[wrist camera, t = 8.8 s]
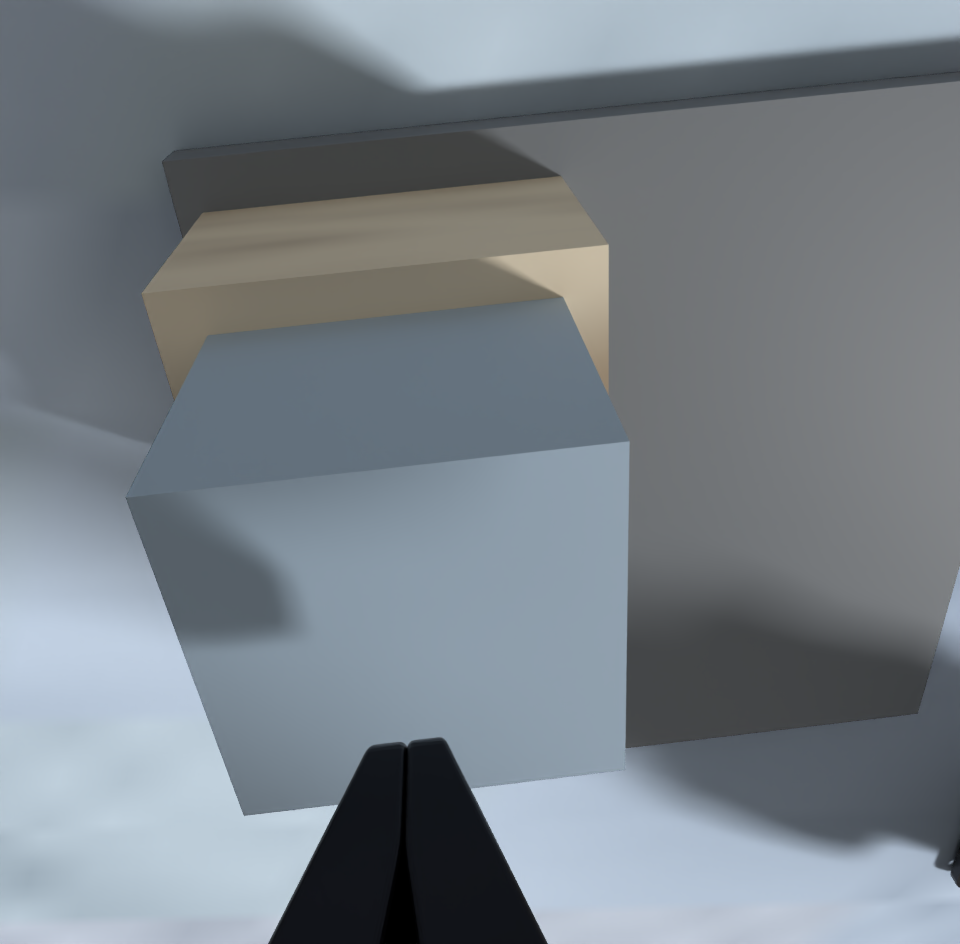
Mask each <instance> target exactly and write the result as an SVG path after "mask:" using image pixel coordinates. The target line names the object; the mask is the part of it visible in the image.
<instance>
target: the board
mask: <svg viewBox="0 0 960 944" xmlns="http://www.w3.org/2000/svg"><path fill="white" fill-rule="evenodd" d="M162 163H163V167H164V171H165V174H166V178H167V182H168V186H169V189H170V193H171V197H172V200H173V204H174V208H175V211H176V215H177V219H178V222H179V226H180V230H181V233H182V237H183V238H184V237H185V235H186V234H187V233H188V231H189V230H190V229H191V227H192V226H193V225H194V223H195V222H196V221H197V219H198V218H199V217H200V215H201V214H202V213H205V212H215V211H225V210H235V209H244V208H254V207H264V206H274V205H283V204H293V203H303V202H313V201H323V200H332V199H342V198H352V197H362V196H371V195H381V194H391V193H401V192H410V191H420V190H430V189H440V188H449V187H459V186H469V185H479V184H488V183H498V182H508V181H518V180H527V179H537V178H547V177H557V176H561V177H562V178H563V180H564V181H565V183H566V184H567V185H568V187H569V188H570V190H571V191H572V193H573V194H574V195H575V197H576V198H577V200H578V201H579V203H580V204H581V206H582V207H583V208H584V210H585V211H586V213H587V214H588V216H589V217H590V219H591V220H592V221H593V223H594V224H595V226H596V227H597V229H598V230H599V231H600V233H601V234H602V236H603V237H604V239H605V240H606V242H607V243H608V244H609V398H610V400H611V402H612V404H613V406H614V408H615V411H616V413H617V415H618V417H619V419H620V422H621V424H622V426H623V428H624V430H625V432H626V435H627V437H628V439H629V441H630V447H629V520H628V594H627V667H626V740H625V748H631V747H639V746H648V745H656V744H665V743H673V742H682V741H690V740H699V739H707V738H715V737H724V736H732V735H741V734H749V733H758V732H766V731H775V730H783V729H792V728H800V727H808V726H817V725H825V724H834V723H842V722H851V721H859V720H868V719H876V718H885V717H893V716H901V715H910V714H918V711H919V707H920V704H921V700H922V697H923V693H924V690H925V686H926V683H927V679H928V676H929V672H930V669H931V665H932V662H933V658H934V655H935V651H936V647H937V644H938V640H939V637H940V633H941V630H942V626H943V623H944V619H945V616H946V612H947V609H948V605H949V602H950V598H951V595H952V591H953V588H954V584H955V581H956V577H957V574H958V570H959V567H960V72H952V73H942V74H932V75H923V76H913V77H903V78H893V79H883V80H873V81H863V82H853V83H843V84H833V85H823V86H813V87H803V88H793V89H783V90H774V91H764V92H754V93H744V94H734V95H724V96H714V97H704V98H694V99H684V100H674V101H664V102H654V103H644V104H635V105H625V106H615V107H605V108H595V109H585V110H575V111H565V112H555V113H545V114H535V115H525V116H515V117H505V118H495V119H486V120H476V121H466V122H456V123H446V124H436V125H426V126H416V127H406V128H396V129H386V130H376V131H366V132H356V133H347V134H337V135H327V136H317V137H307V138H297V139H287V140H277V141H267V142H257V143H247V144H237V145H227V146H217V147H208V148H198V149H188V150H178V151H174V152H172V153H171V154H170V155H169V156H168V157H167V158H166V159H165V160H163V161H162Z"/></svg>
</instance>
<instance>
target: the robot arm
mask: <svg viewBox="0 0 960 944" xmlns="http://www.w3.org/2000/svg"><path fill="white" fill-rule="evenodd" d="M951 876H952V878H953V880H954V881H955V883H956V885H957V886H958V887H960V848H959V851H958V854H957V856H956V859H955V862H954V865H953V867H952V870H951ZM268 944H548V943H547V941H546V939H545V937H544V935H543V933H542V931H541V929H540V927H539V925H538V923H537V921H536V919H535V917H534V915H533V913H532V911H531V909H530V907H529V905H528V903H527V901H526V899H525V897H524V895H523V893H522V891H521V889H520V887H519V885H518V883H517V881H516V879H515V877H514V875H513V873H512V871H511V869H510V867H509V865H508V863H507V861H506V859H505V857H504V855H503V853H502V851H501V849H500V847H499V845H498V843H497V841H496V839H495V837H494V835H493V833H492V831H491V829H490V827H489V825H488V823H487V821H486V819H485V817H484V815H483V813H482V811H481V809H480V807H479V805H478V803H477V801H476V799H475V797H474V795H473V793H472V791H471V789H470V787H469V785H468V783H467V781H466V779H465V777H464V775H463V773H462V771H461V769H460V767H459V765H458V763H457V761H456V759H455V757H454V755H453V753H452V751H451V749H450V747H449V745H448V743H447V741H446V740H445V739H444V738H442V737H435V738H427V739H418V740H413V741H411V742H410V743H409V744H408V746H407V745H406V744H405V743H403V742H392V743H384V744H375V745H372V746H370V747H369V748H368V749H367V750H366V752H365V753H364V755H363V757H362V759H361V761H360V763H359V765H358V767H357V769H356V771H355V773H354V775H353V777H352V779H351V781H350V783H349V785H348V787H347V789H346V791H345V793H344V795H343V797H342V799H341V801H340V803H339V805H338V807H337V809H336V811H335V813H334V815H333V816H332V818H331V820H330V822H329V824H328V826H327V828H326V830H325V832H324V834H323V836H322V838H321V840H320V842H319V844H318V846H317V848H316V850H315V852H314V854H313V856H312V858H311V860H310V862H309V864H308V866H307V868H306V870H305V872H304V874H303V876H302V878H301V880H300V882H299V884H298V886H297V888H296V890H295V892H294V894H293V896H292V898H291V900H290V901H289V903H288V905H287V907H286V909H285V911H284V913H283V915H282V917H281V919H280V921H279V923H278V925H277V927H276V929H275V931H274V933H273V935H272V937H271V939H270V941H269V943H268Z"/></svg>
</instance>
